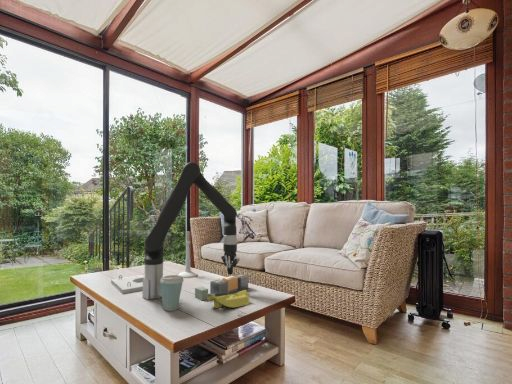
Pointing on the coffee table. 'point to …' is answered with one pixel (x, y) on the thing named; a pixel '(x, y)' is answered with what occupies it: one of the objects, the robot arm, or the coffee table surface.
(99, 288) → the coffee table surface
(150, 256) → the robot arm
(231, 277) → the orange module
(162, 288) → the disposable coffee cup
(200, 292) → the green block
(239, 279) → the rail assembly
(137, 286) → the mounting panel
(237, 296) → the plastic component
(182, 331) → the coffee table surface
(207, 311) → the coffee table surface
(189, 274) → the candlestick
